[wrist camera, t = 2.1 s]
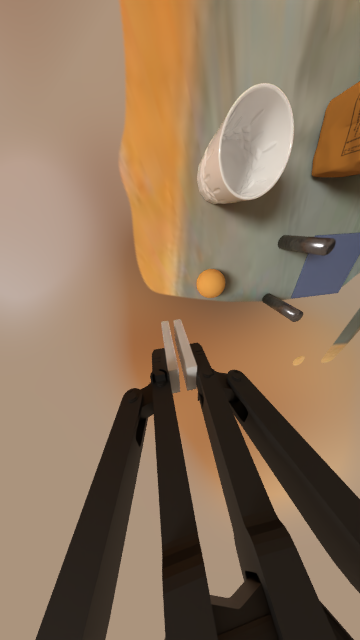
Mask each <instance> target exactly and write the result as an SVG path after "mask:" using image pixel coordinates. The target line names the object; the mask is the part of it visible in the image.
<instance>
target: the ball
mask: <svg viewBox="0 0 360 640" xmlns="http://www.w3.org/2000/svg"><path fill="white" fill-rule="evenodd" d="M224 288H225V278H224V276H223V274H222V273H221V272H220V271H218V270H215V269H208V270H205V271H203V272H202V273H201V274H200V275H199V277H198V279H197V289H198V291H199V293H200V294H201V295H202V296H204V297H207V298H214V297H217V296H218V295H220V294H221V293H222V291H223V290H224Z"/></svg>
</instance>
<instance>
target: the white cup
mask: <svg viewBox="0 0 360 640" xmlns="http://www.w3.org/2000/svg"><path fill="white" fill-rule="evenodd" d="M293 137H294V119H293V113H292V109H291V106H290V103H289V101H288V99H287V97H286V95H285V94H284V93H283V91H282V90H281V89H279V88H278V87H277V86H275V85H272V84H268V83H262V84H257V85H255V86H252V87H251V88H249V89H248V90H246V91H245V92H244V93H243V94H242V95H241V96H240V97H239V98H238V99H237V100H236V102H235V103H234V104H233V106H232V108H231V109H230V111H229V113H228V114H227V116H226V117H225V119H224V121H223V122H222V124H221V126H220V127H219V129H218V130H217V132H216V134H215V135H214V137H213V138H212V140H211V142H210V144H209V146H208V147H207V149H206V151H205V153H204V155H203V158H202V160H201V162H200V164H199V166H198V175H197V182H198V187H199V191H200V193H201V194H202V196H203V197H204V199H205V200H206V201H208V202H210V203H212V204H219V203H222V204H226V203H235V202H240V201H246V200H252V199H256V198H258V197H260V196H262V195H264V194H265V193H267V192H268V191H269V190H270V189H271V188H272V187H273V186H274V185H275V184H276V182H277V181H278V179H279V178H280V176H281V175H282V173H283V171H284V169H285V167H286V165H287V162H288V160H289V157H290V153H291V149H292V144H293Z"/></svg>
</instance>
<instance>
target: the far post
mask: <svg viewBox="0 0 360 640" xmlns="http://www.w3.org/2000/svg"><path fill="white" fill-rule="evenodd" d="M262 301H263V302H264V303H265V304H267V305H269V306H270V307H271V308H273V309H275V310H276V311H278V312H279V313H281V314H282V315H284V316H285V317H287V318H288V319H290V320H291V321H293V322H296V321H298V320H300V319H301V317H302V316H303V312H302V311H300V310H298V309H296V308H294V307H293V306H291V305H289V304H287V303H285V302H284V301H282V300H280V299H278V298H276V297H275V296H273V295H271V294H266V295H265V296H264V297H263V299H262Z"/></svg>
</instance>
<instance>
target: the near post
mask: <svg viewBox="0 0 360 640" xmlns="http://www.w3.org/2000/svg"><path fill="white" fill-rule="evenodd" d="M335 244H336V241H335V239H334V238H321V237H305V236H289V235H284V236H282V237H281V238H280V240H279V242H278V247H279V248H281V249H287V250H293V251H299V252H305V253H311V254H317V255H323V256H325V255H327V254H329V253H330V252H331V251H332V250H333V249H334V247H335Z"/></svg>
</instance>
